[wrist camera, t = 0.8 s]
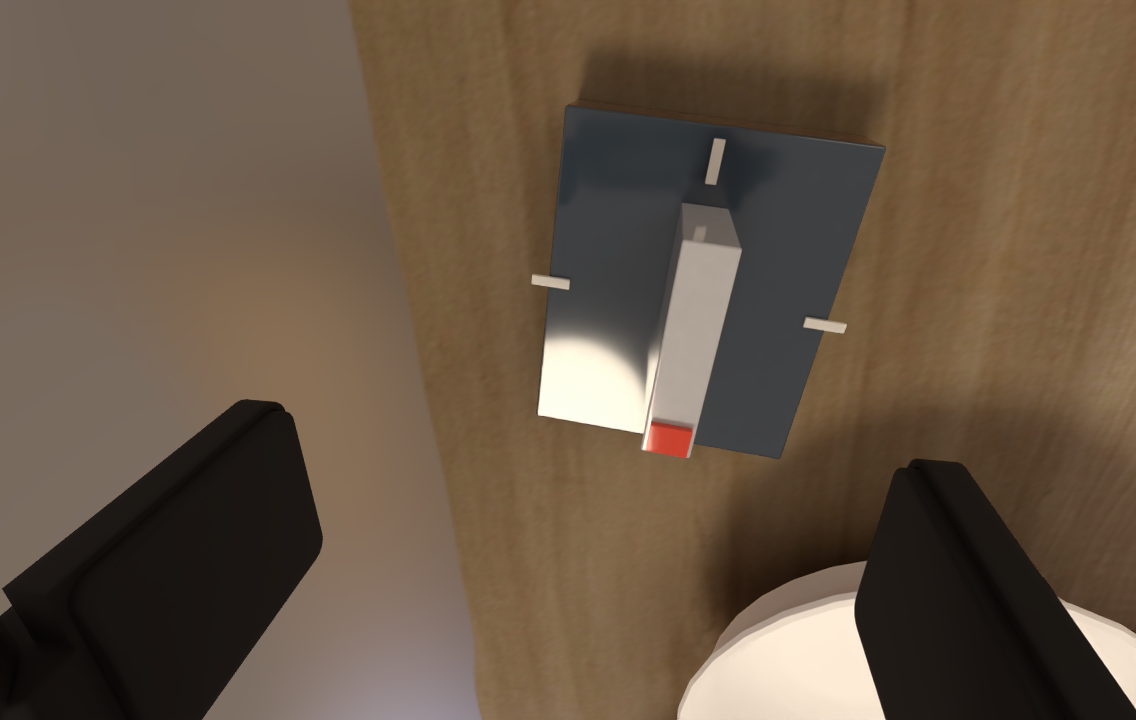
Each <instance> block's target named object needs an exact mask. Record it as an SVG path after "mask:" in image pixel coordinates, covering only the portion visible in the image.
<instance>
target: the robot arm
mask: <svg viewBox="0 0 1136 720" xmlns="http://www.w3.org/2000/svg"><path fill="white" fill-rule="evenodd" d="M322 540H323V536H322V531H321V527H320V523H319V519H318V515H317V511H316V507H315V503H314V499H313V495H312V491H311V487H310V483H309V479H308V475H307V471H306V467H305V462H304V458H303V455H302V451H301V446H300V443H299V439H298V435H297V430H296V427H295V422H294V419H293V417H292V415H291V414H290V413H288V412H286V411H285V409H284V407H283V406H282V405H281V404H279V403H277V402H270V401H259V400H248V399H246V400H240V401H238V402H237V403H235V404H234V405H233V406H231V407H230V408H229V409H228V410H226V411H225V412H224V413H222V414H221V415H220V416H219V417H217V418H216V419H215V420H214V421H213V422H211V423H210V424H209V425H207V426H206V427H205V428H204V429H202V430H201V431H200V432H199V433H197V434H196V435H195V436H194V437H193V438H191V439H190V440H188V441H187V442H186V443H185V444H183V445H182V446H181V447H180V448H178V449H177V450H176V451H175V452H173V453H172V454H171V455H170V456H168V457H167V458H166V459H165V460H163V461H162V462H161V463H160V464H158V465H157V466H156V467H155V468H153V469H152V470H151V471H150V472H148V473H147V474H146V475H144V476H143V477H142V478H141V479H139V480H138V481H137V482H136V483H134V484H133V485H132V486H131V487H129V488H128V489H127V490H126V491H124V492H123V493H122V494H121V495H119V496H118V497H117V498H116V499H114V500H113V501H112V502H111V503H109V504H108V505H107V506H105V507H104V508H103V509H102V510H100V511H99V512H98V513H97V514H95V515H94V516H93V517H92V518H90V519H89V520H88V521H87V522H85V523H84V524H83V525H82V526H81V527H79V528H78V529H77V530H75V531H74V532H73V533H72V534H70V535H69V536H68V537H66V538H65V539H64V540H63V541H61V542H60V543H59V544H58V545H56V546H55V547H54V548H53V549H52V550H50V551H49V552H48V553H46V554H45V555H44V556H43V557H41V558H40V559H39V560H38V561H36V562H35V563H34V564H33V565H31V566H30V567H29V568H28V569H26V570H25V571H24V572H23V573H21V574H20V575H19V576H17V577H16V578H15V579H14V580H13V581H11V582H10V583H9V584H7V585H6V586H5V587H4V588H2V589H3V591H4V593H5V594H6V596H7V598H8V599H9V601H10V603H11V604H12V607H10V608H9V609H8V610H7V611H6V612H4V613H3V614H2V615H1V616H0V720H202V719H203V717H204V716H205V715H206V713H207V711H208V710H209V709H210V708H211V706H212V705H213V703H214V702H215V701H216V699H217V698H218V696H219V695H220V693H221V692H222V691H223V689H224V688H225V686H226V685H227V684H228V682H229V681H230V679H231V678H232V677H233V675H234V674H235V672H236V671H237V669H238V668H239V667H240V665H241V664H242V662H243V661H244V659H245V658H246V657H247V655H248V654H249V653H250V651H251V650H252V648H253V647H254V646H255V644H256V643H257V641H258V640H259V639H260V637H261V636H262V634H263V633H264V632H265V630H266V629H267V627H268V626H269V624H270V623H271V622H272V620H273V619H274V618H275V616H276V614H277V613H278V612H279V611H280V609H281V608H282V606H283V605H284V603H285V602H286V601H287V599H288V598H289V596H290V595H291V594H292V592H293V591H294V589H295V588H296V586H297V585H298V584H299V582H300V581H301V580H302V578H303V577H304V575H305V574H306V573H307V571H308V570H309V568H310V567H311V566H312V564H313V563H314V561H315V560H316V558H317V557H318V555H319V553H320V550H321V547H322ZM854 617H855V623H856V627H857V631H858V634H859V637H860V640H861V643H862V647H863V650H864V653H865V656H866V659H867V662H868V666H869V669H870V672H871V675H872V678H873V682H874V685H875V688H876V691H877V694H878V698H879V701H880V704H881V707H882V710H883V713H884V717H885V720H1136V708H1135V707H1134V706H1133V704H1132V703H1131V701H1130V700H1129V698H1128V697H1127V696H1126V694H1125V693H1124V691H1123V690H1122V688H1121V687H1120V686H1119V684H1118V683H1117V681H1116V680H1115V678H1114V677H1113V676H1112V674H1111V673H1110V671H1109V670H1108V668H1107V667H1106V666H1105V664H1104V663H1103V661H1102V660H1101V658H1100V657H1099V656H1098V654H1097V653H1096V651H1095V650H1094V648H1093V647H1092V646H1091V644H1090V643H1089V641H1088V640H1087V638H1086V637H1085V636H1084V634H1083V633H1082V631H1081V630H1080V628H1079V627H1078V626H1077V624H1076V623H1075V621H1074V620H1073V618H1072V617H1071V616H1070V614H1069V613H1068V611H1067V610H1066V608H1065V607H1064V606H1063V604H1062V603H1061V601H1060V600H1059V598H1058V597H1057V596H1056V594H1055V593H1054V591H1053V590H1052V588H1051V587H1050V586H1049V584H1048V583H1047V581H1046V580H1045V579H1044V578H1043V577H1042V576H1041V575H1040V573H1039V572H1038V571H1037V569H1036V568H1035V566H1034V565H1033V563H1032V562H1031V561H1030V559H1029V558H1028V556H1027V555H1026V553H1025V552H1024V550H1023V549H1022V548H1021V546H1020V545H1019V543H1018V542H1017V540H1016V539H1015V538H1014V536H1013V535H1012V533H1011V532H1010V530H1009V529H1008V528H1007V526H1006V525H1005V523H1004V522H1003V520H1002V519H1001V518H1000V516H999V515H998V513H997V512H996V510H995V509H994V507H993V506H992V505H991V503H990V502H989V500H988V499H987V497H986V496H985V495H984V493H983V492H982V490H981V489H980V487H979V486H978V485H977V483H976V482H975V480H974V479H973V477H972V476H971V475H970V473H969V472H968V470H967V469H966V468H965V467H964V466H963V465H962V464H961V463H958V462H948V461H936V460H925V459H914V460H912V461H911V462H910V464H909V465H908V467H907V468H898V469H897V470H896V471H895V473H894V475H893V478H892V482H891V485H890V488H889V491H888V495H887V498H886V501H885V504H884V508H883V511H882V514H881V517H880V520H879V524H878V527H877V530H876V533H875V537H874V540H873V543H872V546H871V550H870V553H869V556H868V559H867V563H866V566H865V569H864V572H863V576H862V579H861V582H860V585H859V589H858V592H857V595H856V599H855V604H854Z"/></svg>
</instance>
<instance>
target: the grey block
mask: <svg viewBox="0 0 1136 720" xmlns="http://www.w3.org/2000/svg"><path fill="white" fill-rule="evenodd" d="M741 253H742V248H741V245H740V242H739V239H738V235H737V232H736V229H735V226H734V223H733V220H732V217H731V214H730V211H729V209H724V208H717V207H710V206H703V205H696V204H689V203H682V204H681V208H680V213H679V218H678V223H677V228H676V233H675V238H674V244H673V249H672V254H671V259H670V264H669V269H668V274H667V280H666V285H665V290H664V295H663V300H662V305H661V310H660V316H659V321H658V326H657V331H656V336H655V341H654V346H653V352H652V357H651V362H650V367H649V372H648V377H647V383H646V394H645V405H644V416H643V427H642V437H641V449H642V450H645V451H651V452H656V453H662V454H667V455H672V456H678V457H683V458H689V457H690V455H691V451H692V447H693V443H694V439H695V435H696V431H697V427H698V424H699V420H700V416H701V412H702V408H703V404H704V400H705V396H706V392H707V388H708V384H709V380H710V376H711V372H712V368H713V364H714V360H715V356H716V352H717V348H718V344H719V340H720V336H721V332H722V328H723V324H724V320H725V316H726V312H727V309H728V305H729V301H730V297H731V293H732V289H733V285H734V281H735V277H736V273H737V269H738V265H739V261H740V257H741Z"/></svg>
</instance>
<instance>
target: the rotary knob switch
mask: <svg viewBox="0 0 1136 720" xmlns="http://www.w3.org/2000/svg"><path fill="white" fill-rule="evenodd" d="M885 151H886V147H885V146H883V145H881V144H879V143H877V142H875V141H873V140H871V139H869V138H866V137H864V136H859V135H851V134H843V133H836V132H828V131H820V130H813V129H805V128H797V127H789V126H782V125H774V124H766V123H758V122H751V121H743V120H735V119H728V118H720V117H712V116H704V115H697V114H689V113H681V112H673V111H666V110H658V109H650V108H642V107H635V106H627V105H619V104H612V103H604V102H596V101H588V100H581V99H578V100H576V101H574V102H572V103H570V104H568V105H567V106H566V108H565V119H564V129H563V140H562V150H561V161H560V171H559V182H558V192H557V203H556V213H555V223H554V234H553V244H552V255H551V265H550V276H546V275H539V274H533V275H532V284H536V285H542V286H548V297H547V307H546V318H545V328H544V339H543V349H542V360H541V370H540V380H539V391H538V401H537V412H536V414H537V415H538V416H543V417H548V418H554V419H560V420H565V421H571V422H576V423H582V424H587V425H593V426H598V427H604V428H609V429H615V430H621V431H626V432H632V433H637V434H642V427H643V416H644V405H645V394H646V383H647V377H648V372H649V367H650V362H651V357H652V352H653V346H654V341H655V336H656V331H657V326H658V321H659V316H660V310H661V305H662V300H663V295H664V290H665V285H666V280H667V274H668V269H669V264H670V259H671V254H672V249H673V244H674V238H675V233H676V228H677V223H678V218H679V213H680V208H681V204H682V203H689V204H696V205H703V206H710V207H717V208H724V209H729V211H730V214H731V217H732V220H733V223H734V226H735V229H736V232H737V235H738V239H739V242H740V245H741V248H742V253H741V257H740V261H739V265H738V269H737V273H736V277H735V281H734V285H733V289H732V293H731V297H730V301H729V305H728V309H727V312H726V316H725V320H724V324H723V328H722V332H721V336H720V340H719V344H718V348H717V352H716V356H715V360H714V364H713V368H712V372H711V376H710V380H709V384H708V388H707V392H706V396H705V400H704V404H703V408H702V412H701V416H700V420H699V424H698V427H697V431H696V435H695V439H694V443H693V444H698V445H704V446H709V447H715V448H721V449H726V450H732V451H737V452H743V453H748V454H754V455H759V456H765V457H770V458H776V459H780V457H781V455H782V452H783V449H784V446H785V443H786V440H787V437H788V434H789V431H790V428H791V425H792V423H793V420H794V417H795V414H796V411H797V408H798V405H799V402H800V399H801V396H802V393H803V390H804V387H805V385H806V382H807V379H808V376H809V373H810V370H811V367H812V364H813V361H814V358H815V355H816V352H817V349H818V347H819V344H820V341H821V338H822V335H823V332H824V331H830V332H837V333H843V334H844V331H845V329H846V326H847V324H846V323H843V322H837V321H831V320H828V317H829V314H830V311H831V309H832V306H833V303H834V300H835V297H836V294H837V291H838V288H839V285H840V282H841V279H842V276H843V273H844V270H845V268H846V265H847V262H848V259H849V256H850V253H851V250H852V247H853V244H854V241H855V238H856V235H857V232H858V230H859V227H860V224H861V221H862V218H863V215H864V212H865V209H866V206H867V203H868V200H869V197H870V194H871V192H872V189H873V186H874V183H875V180H876V177H877V174H878V171H879V168H880V165H881V162H882V159H883V156H884V154H885Z"/></svg>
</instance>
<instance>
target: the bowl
mask: <svg viewBox="0 0 1136 720" xmlns="http://www.w3.org/2000/svg"><path fill="white" fill-rule="evenodd" d="M866 563H867V561H862V562H857V563H851V564H846V565H840V566H835V567H830V568H827V569H824V570H821V571H818V572H815V573H812V574H809V575H806V576H803V577H800V578H797V579H794V580H792V581H790V582H788V583H786V584H784V585H782V586H780V587H778V588H776V589H774V590H772V591H770V592H768V593H767V594H765V595H763V596H761V597H760V598H758V599H757V600H756V601H755V602H753V603H752V604H751V605H750V606H748V607H747V608H746V609H744V610H743V611H742V612H741V613H739V614H738V615H737V616H736V617H735V618H734V620H733V621H732V622H731V623H730V625H729V626H728V627H727V628H726V629H725V631H724V632H723V633H722V634H721V636H720V637H719V639H718V641H717V644H716V646H715V648H714V650H713V653H712V655H711V656H710V657H709V658H708V659H707V661H706V662H705V663H704V664H703V666H702V667H701V668H700V669H699V670H698V672H697V673H696V674H695V675H694V677H693V678H692V679H691V680H690V682H689V684H688V686H687V689H686V691H685V693H684V695H683V698H682V700H681V702H680V705H679V707H678V715H677V720H885V717H884V713H883V710H882V707H881V704H880V701H879V698H878V694H877V691H876V688H875V685H874V682H873V678H872V675H871V672H870V669H869V666H868V662H867V659H866V656H865V653H864V650H863V647H862V643H861V640H860V637H859V634H858V631H857V627H856V623H855V617H854V604H855V599H856V595H857V592H858V589H859V585H860V582H861V579H862V576H863V572H864V569H865V566H866ZM1058 598H1059V597H1058ZM1059 600H1060V601H1061V603H1062V604H1063V606H1064V607H1065V608H1066V610H1067V611H1068V613H1069V614H1070V616H1071V617H1072V618H1073V620H1074V621H1075V623H1076V624H1077V626H1078V627H1079V628H1080V630H1081V631H1082V633H1083V634H1084V636H1085V637H1086V638H1087V640H1088V641H1089V643H1090V644H1091V646H1092V647H1093V648H1094V650H1095V651H1096V653H1097V654H1098V656H1099V657H1100V658H1101V660H1102V661H1103V663H1104V664H1105V666H1106V667H1107V668H1108V670H1109V671H1110V673H1111V674H1112V676H1113V677H1114V678H1115V680H1116V681H1117V683H1118V684H1119V686H1120V687H1121V688H1122V690H1123V691H1124V693H1125V694H1126V696H1127V697H1128V698H1129V700H1130V701H1131V703H1132V704H1133V706H1134V707H1135V708H1136V634H1135V633H1134V632H1132V631H1131V630H1129V629H1128V628H1126V627H1125V626H1123V625H1121V624H1119V623H1117V622H1114V621H1112V620H1109V619H1107V618H1104V617H1102V616H1100V615H1097V614H1095V613H1092V612H1090V611H1087V610H1085V609H1083V608H1080V607H1078V606H1075V605H1073V604H1070V603H1067V602H1065V601H1064V600H1062V599H1060V598H1059Z"/></svg>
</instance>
